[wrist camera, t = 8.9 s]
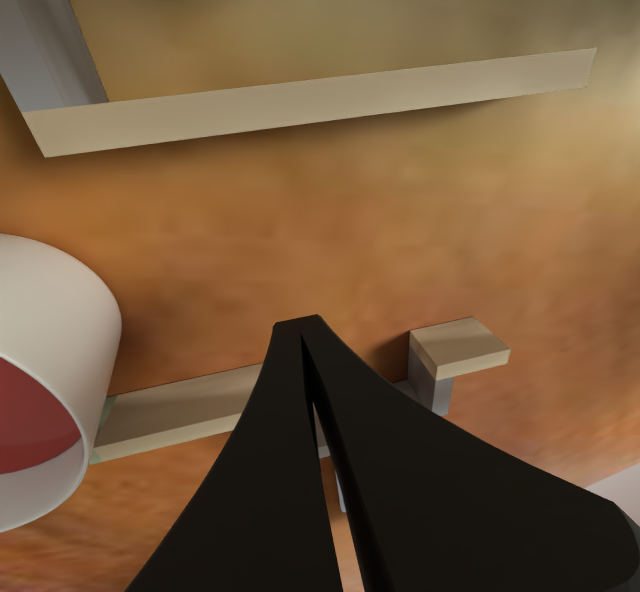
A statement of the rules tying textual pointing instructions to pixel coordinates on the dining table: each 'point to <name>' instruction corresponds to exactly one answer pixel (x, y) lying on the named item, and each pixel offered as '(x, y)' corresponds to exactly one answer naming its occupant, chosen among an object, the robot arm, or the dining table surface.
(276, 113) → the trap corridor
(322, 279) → the dining table surface
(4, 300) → the candle
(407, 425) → the robot arm
